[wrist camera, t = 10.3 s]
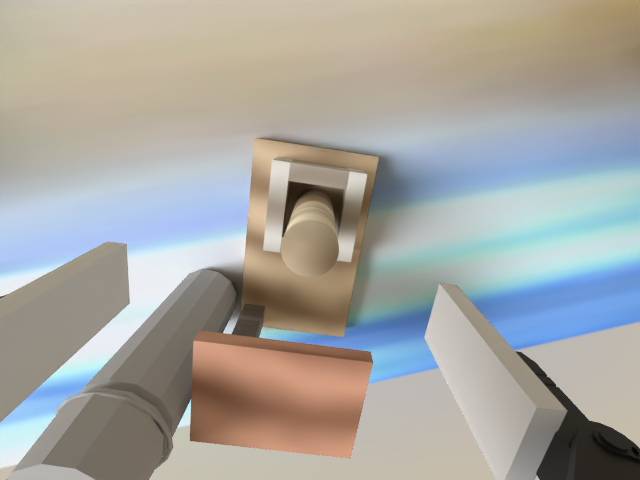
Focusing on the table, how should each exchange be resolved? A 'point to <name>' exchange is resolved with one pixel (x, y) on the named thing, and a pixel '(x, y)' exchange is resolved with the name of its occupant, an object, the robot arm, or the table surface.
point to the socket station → (289, 318)
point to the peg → (311, 235)
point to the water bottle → (133, 394)
